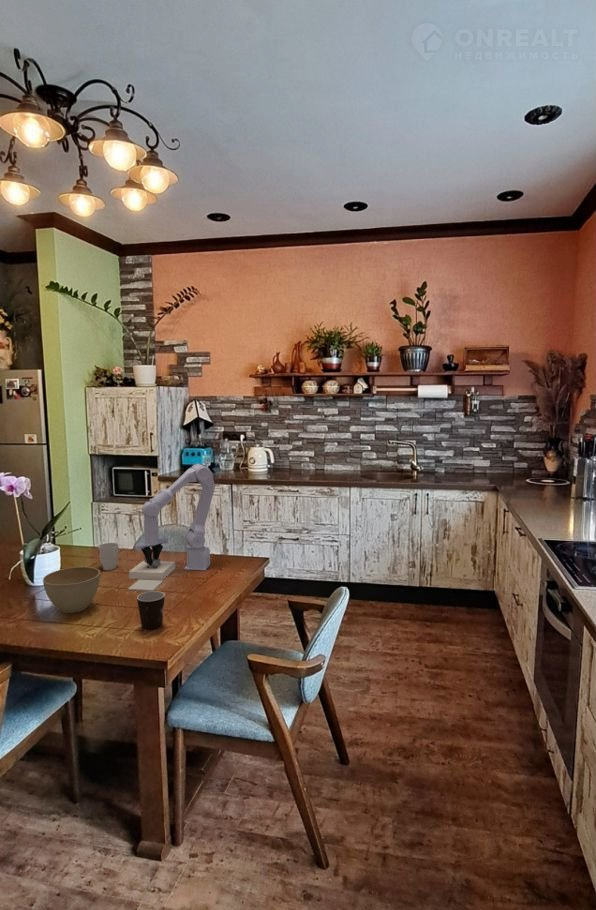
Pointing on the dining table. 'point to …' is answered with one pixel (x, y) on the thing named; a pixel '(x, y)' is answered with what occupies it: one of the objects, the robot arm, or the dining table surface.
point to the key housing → (152, 571)
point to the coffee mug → (151, 609)
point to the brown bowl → (72, 588)
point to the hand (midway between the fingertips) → (152, 563)
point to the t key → (154, 562)
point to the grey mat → (145, 585)
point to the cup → (108, 555)
